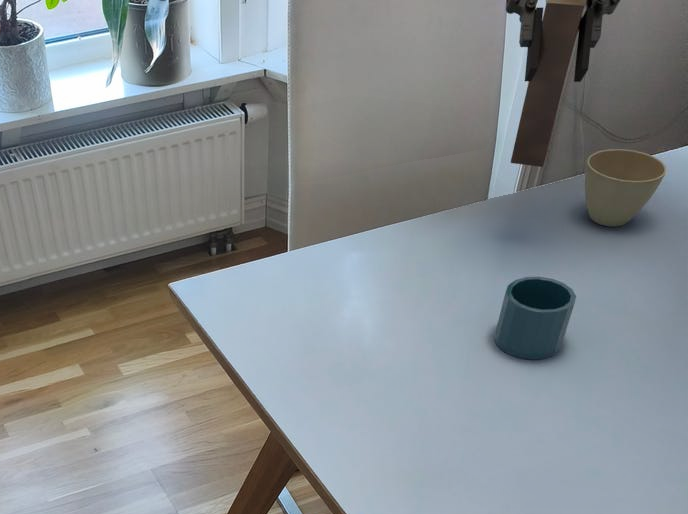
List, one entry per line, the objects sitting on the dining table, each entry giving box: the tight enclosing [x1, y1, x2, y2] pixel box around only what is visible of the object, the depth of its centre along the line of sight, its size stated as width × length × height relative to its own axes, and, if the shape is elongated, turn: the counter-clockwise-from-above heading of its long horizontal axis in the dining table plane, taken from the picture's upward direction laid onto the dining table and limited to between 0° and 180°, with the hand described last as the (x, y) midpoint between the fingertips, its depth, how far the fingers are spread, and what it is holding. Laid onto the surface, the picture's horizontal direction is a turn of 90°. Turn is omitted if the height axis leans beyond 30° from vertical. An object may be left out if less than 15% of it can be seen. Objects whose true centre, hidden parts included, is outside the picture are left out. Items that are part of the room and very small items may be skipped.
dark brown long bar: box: [510, 0, 587, 168], centre depth 104 cm, size 4×4×20 cm
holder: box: [494, 276, 577, 360], centre depth 102 cm, size 8×8×6 cm
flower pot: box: [584, 148, 667, 228], centre depth 119 cm, size 10×10×7 cm
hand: (555, 75), depth 101 cm, fingers closed on dark brown long bar, 5 cm apart
